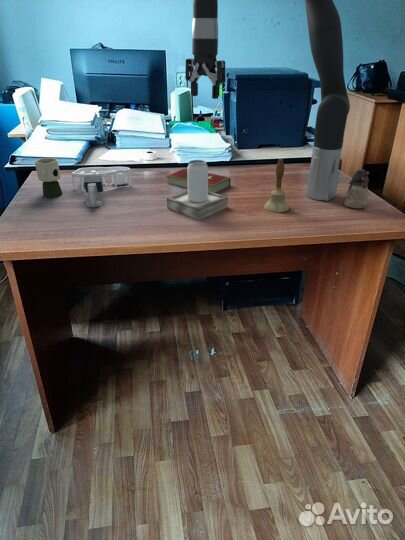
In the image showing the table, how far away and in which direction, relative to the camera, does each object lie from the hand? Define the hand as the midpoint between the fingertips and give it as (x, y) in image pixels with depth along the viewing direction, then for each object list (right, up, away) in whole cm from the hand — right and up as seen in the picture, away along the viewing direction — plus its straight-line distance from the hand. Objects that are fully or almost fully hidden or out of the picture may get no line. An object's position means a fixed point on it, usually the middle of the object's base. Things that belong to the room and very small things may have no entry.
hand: (204, 97), depth 124 cm
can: (-2, -31, +5) cm, 32 cm away
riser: (-2, -33, +7) cm, 34 cm away
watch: (-37, -24, +10) cm, 45 cm away
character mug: (-52, -29, +14) cm, 61 cm away
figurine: (+51, -32, +10) cm, 61 cm away
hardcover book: (-2, -22, +26) cm, 35 cm away
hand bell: (+24, -33, +8) cm, 42 cm away
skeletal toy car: (-37, -24, +22) cm, 50 cm away
